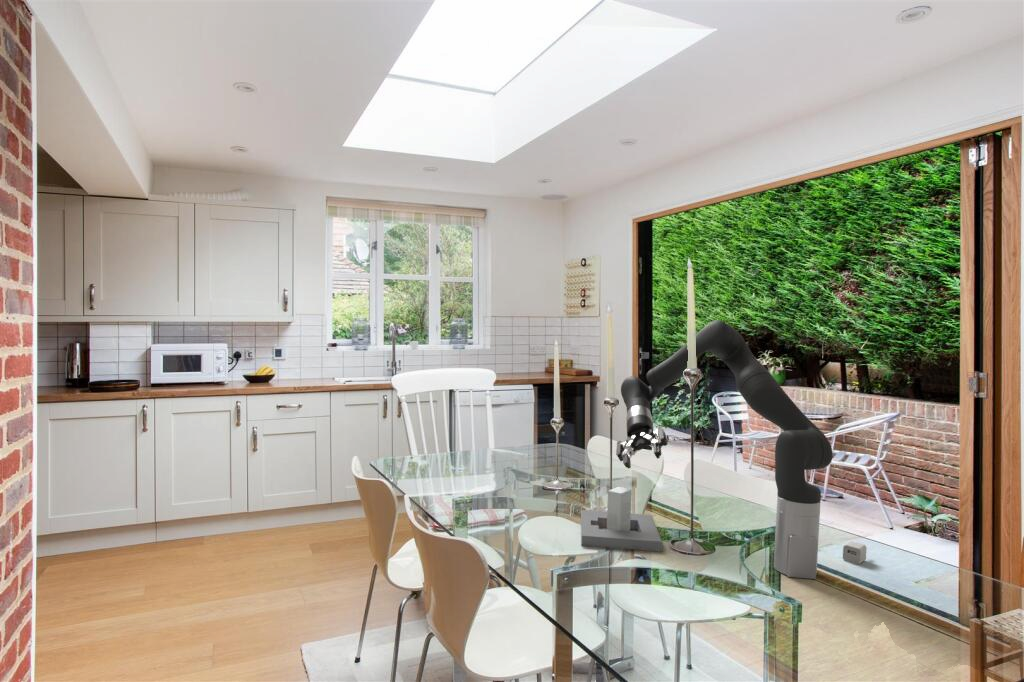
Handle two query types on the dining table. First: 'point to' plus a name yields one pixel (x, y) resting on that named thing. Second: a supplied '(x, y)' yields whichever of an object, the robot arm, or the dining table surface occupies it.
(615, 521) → the skincare box
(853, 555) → the usb wall charger
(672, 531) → the dining table surface
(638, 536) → the block
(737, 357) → the robot arm
